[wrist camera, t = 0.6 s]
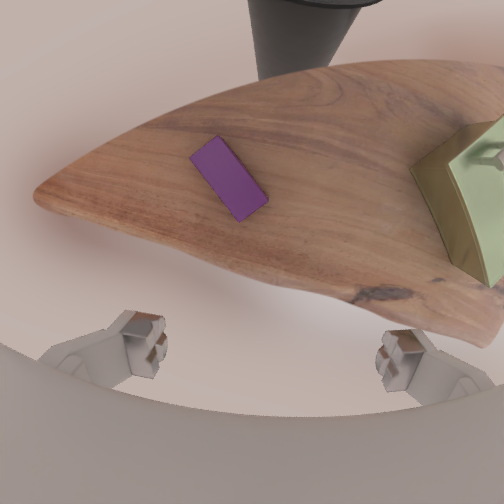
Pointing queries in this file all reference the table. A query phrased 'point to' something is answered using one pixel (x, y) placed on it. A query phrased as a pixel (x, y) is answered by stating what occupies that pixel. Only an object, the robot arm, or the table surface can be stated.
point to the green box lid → (483, 195)
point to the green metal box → (450, 201)
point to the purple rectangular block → (229, 178)
